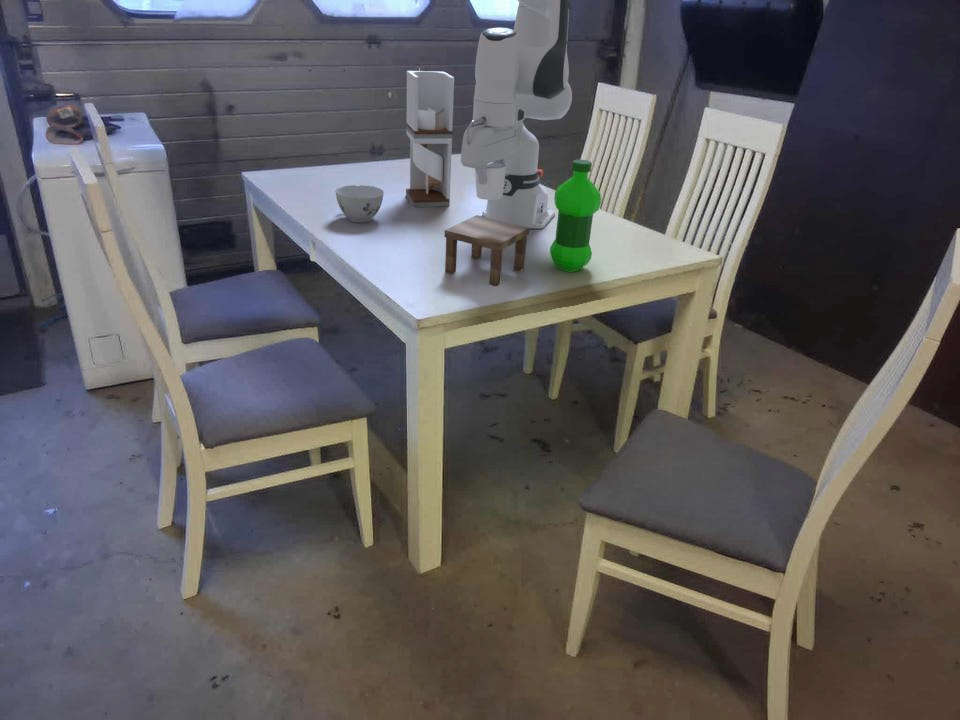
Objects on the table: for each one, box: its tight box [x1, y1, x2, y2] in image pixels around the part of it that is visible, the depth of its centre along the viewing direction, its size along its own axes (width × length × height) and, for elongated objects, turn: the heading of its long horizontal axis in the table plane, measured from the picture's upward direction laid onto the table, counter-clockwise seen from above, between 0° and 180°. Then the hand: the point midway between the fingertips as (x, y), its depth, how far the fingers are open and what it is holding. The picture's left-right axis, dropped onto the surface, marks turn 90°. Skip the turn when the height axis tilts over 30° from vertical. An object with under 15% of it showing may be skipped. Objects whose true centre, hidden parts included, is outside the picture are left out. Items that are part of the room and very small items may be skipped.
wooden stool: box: [444, 214, 530, 287], centre depth 162 cm, size 14×14×10 cm
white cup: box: [474, 161, 506, 201], centre depth 154 cm, size 7×7×7 cm
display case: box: [405, 70, 455, 208], centre depth 201 cm, size 11×11×35 cm
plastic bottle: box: [549, 159, 602, 273], centre depth 163 cm, size 10×10×25 cm
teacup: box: [335, 184, 385, 223], centre depth 190 cm, size 15×12×8 cm
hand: (490, 180), depth 154 cm, fingers closed on white cup, 5 cm apart
